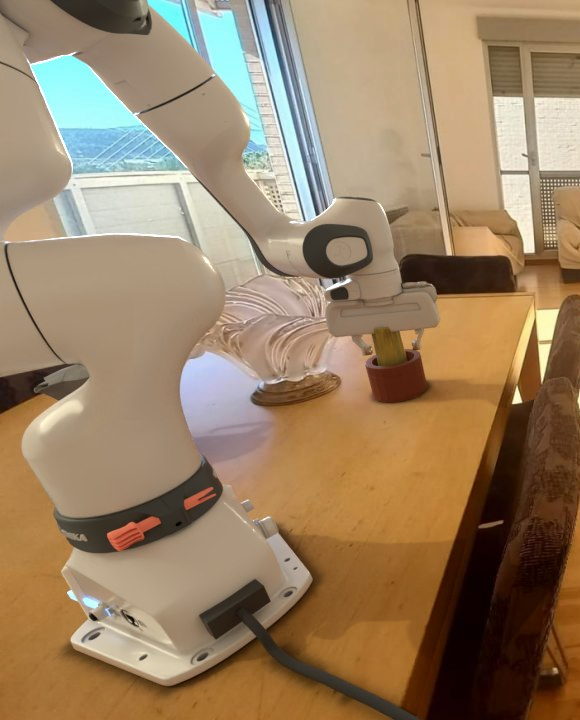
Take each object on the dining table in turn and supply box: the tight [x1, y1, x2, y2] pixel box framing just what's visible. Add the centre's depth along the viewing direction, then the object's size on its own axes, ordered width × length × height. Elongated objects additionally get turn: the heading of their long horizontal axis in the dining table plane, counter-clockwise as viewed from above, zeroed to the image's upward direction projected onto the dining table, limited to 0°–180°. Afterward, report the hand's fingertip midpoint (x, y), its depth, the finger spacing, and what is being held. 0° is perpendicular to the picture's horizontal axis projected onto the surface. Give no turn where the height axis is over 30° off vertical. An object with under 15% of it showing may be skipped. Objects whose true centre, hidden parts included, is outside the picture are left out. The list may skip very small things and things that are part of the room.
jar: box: [364, 348, 428, 404], centre depth 98 cm, size 10×10×8 cm
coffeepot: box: [33, 363, 90, 402], centre depth 80 cm, size 15×9×18 cm, turn 171°
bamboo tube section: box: [371, 327, 408, 367], centre depth 97 cm, size 6×6×14 cm
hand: (393, 351), depth 96 cm, fingers open, 8 cm apart
